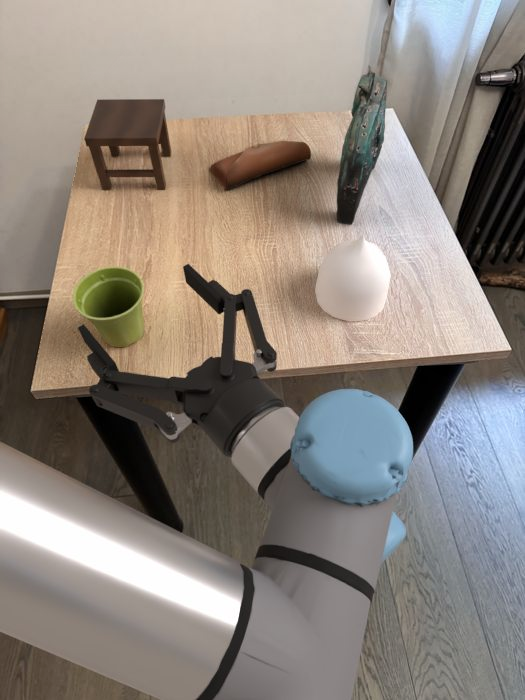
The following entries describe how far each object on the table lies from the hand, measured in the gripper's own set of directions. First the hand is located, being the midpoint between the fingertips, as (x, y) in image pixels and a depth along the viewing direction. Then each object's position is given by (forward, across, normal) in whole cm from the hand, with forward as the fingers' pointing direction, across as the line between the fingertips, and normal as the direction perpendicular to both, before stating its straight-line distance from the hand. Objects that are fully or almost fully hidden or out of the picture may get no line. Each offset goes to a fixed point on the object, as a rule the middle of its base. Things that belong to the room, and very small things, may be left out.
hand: (137, 301), depth 57 cm
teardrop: (-7, +30, -16) cm, 35 cm away
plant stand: (+41, +22, -15) cm, 49 cm away
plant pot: (+10, 0, -16) cm, 18 cm away
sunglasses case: (+27, +40, -16) cm, 51 cm away
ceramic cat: (+10, +49, -16) cm, 52 cm away
